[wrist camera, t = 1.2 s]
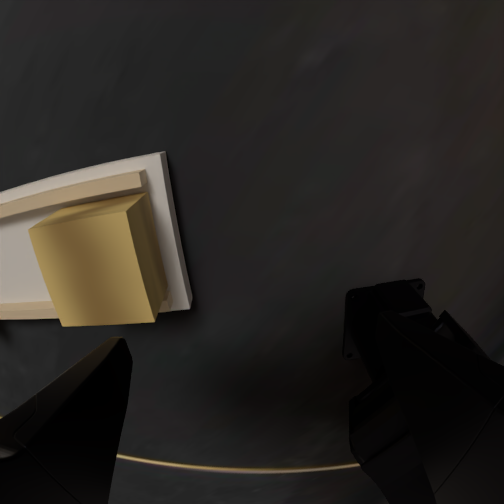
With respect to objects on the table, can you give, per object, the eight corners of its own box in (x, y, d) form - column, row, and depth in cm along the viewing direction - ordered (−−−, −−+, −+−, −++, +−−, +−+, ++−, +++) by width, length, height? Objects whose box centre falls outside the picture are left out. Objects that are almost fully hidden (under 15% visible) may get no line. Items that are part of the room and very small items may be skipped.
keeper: (147, 191, 18) (125, 211, 14) (168, 285, 20) (154, 321, 16) (61, 208, 18) (27, 229, 14) (86, 292, 20) (62, 326, 16)
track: (165, 151, 18) (139, 163, 13) (192, 297, 22) (181, 348, 17) (-54, 212, 18) (-94, 234, 13) (-20, 310, 22) (-50, 343, 17)
